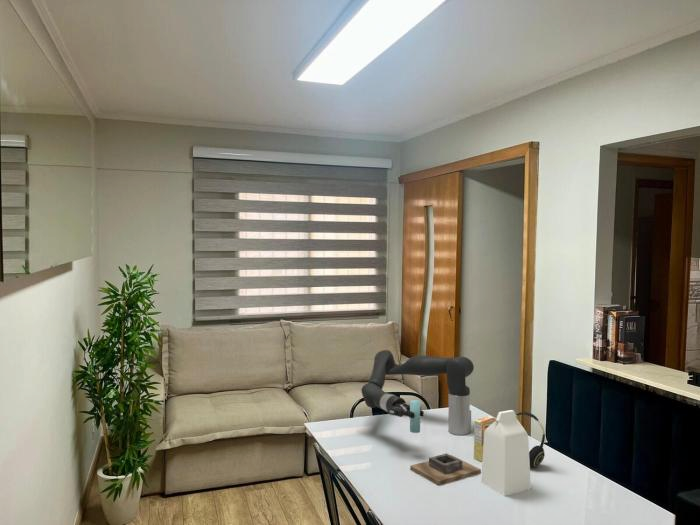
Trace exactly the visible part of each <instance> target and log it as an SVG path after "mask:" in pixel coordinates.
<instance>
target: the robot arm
mask: <svg viewBox="0 0 700 525" xmlns="http://www.w3.org/2000/svg"><path fill="white" fill-rule="evenodd" d="M373 362H374V363H373V366H372V371H371V375H370V378H369V379H368V382H367V383H364V385H363V386H362V388H361V391H360V392H361V394H362V397H363V401H364V403H365V405H366V406H367V408H371V409H373V408H379V409H381V410H383V411H384V412H387V413H389V415H391V416H396V417H400V418H403V417H408V418H409V419H410V418H414V413H413V412H411V411H410V403H408V402H406V400H405V398H402V397H401V396H397V395H395V394H392V393H388V392H386V391H385V390H383V387H384V385H385V382H386V376H389V375H390V376H391V375H392V376H393V375H394V376H395V375H396V376H397V375H408V376H421V377H422V376H424V377H426V376H427V377H428V376H429V377H430V376H437V375H438V376H439V375H444V374H445V375H446V386H447V389H448V419H447V420H448V427H447V428H448V433H449V434H453V435H456V436H465V435H469V434H470V433H471V432H472V410H470V409H471V408H470V407H471V405H470V404H471V401H470V400H471V399H470V398H471V397H470V396H471V394H470V392H471V390H470V387H469V386H467V385H466V378H467V377H469V376H470V375H471V374H472V373H473V371H474V367H475V366H474V362H472V360H471V359H470V358H468V357H466V356H456V357H440V356H430V355H414V356H411V357H410V358H409V359H407V360H406V361H405V362H404V363H402V364H397V363H396V361H395V358H394V355H393V353H392V352H391V350H389V349H383V350H380V351H378V352H376V354H375V356H374V361H373ZM424 412H425V411H424V410H422V407H421V406H420V418H421V417H424V415H425V414H424Z"/></svg>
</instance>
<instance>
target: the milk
mask: <svg viewBox="0 0 700 525" xmlns="http://www.w3.org/2000/svg"><path fill="white" fill-rule="evenodd" d="M516 415H517V414H516V411H515V410H513V409H509V410H502V411H498V413H497V415H496V418H495V419H496V421H495V422H493V423H492V424H491V425H490V426H489V427H487V428H486V430H485V432H484V443H483V460H482V462H481V463H482V464H481V475H480V476H481V479H480V484H482V483H483V485H484V486H486V487H488V488H490V489H491V490H493V491H495V492H496V493H499V495H502V496H504V497H505V496H509V495H513V494H517V493H521V492H524V491H528V490H530V489H532V486H531V485H532V483H531V467H530V461H529V452H530V447H529V445H530V444H529V434H528V433H527V431H526V430H525V428H524V426H523V425H522V424H521V423H520V421H519V420H518V418H517V416H516Z"/></svg>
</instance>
